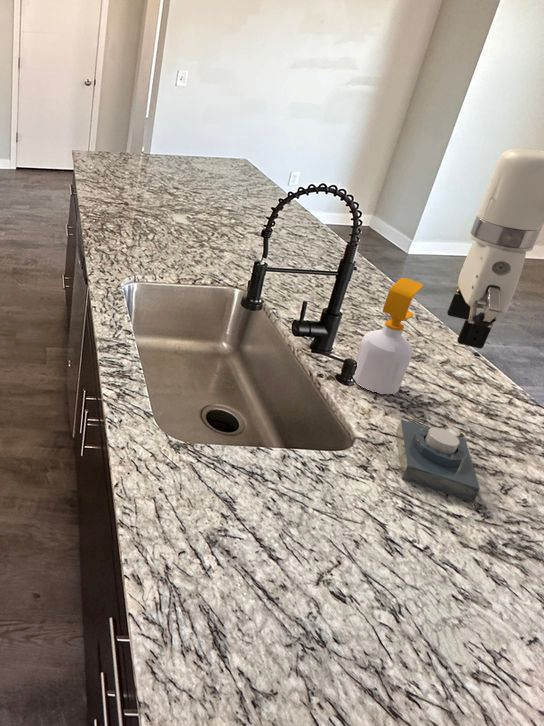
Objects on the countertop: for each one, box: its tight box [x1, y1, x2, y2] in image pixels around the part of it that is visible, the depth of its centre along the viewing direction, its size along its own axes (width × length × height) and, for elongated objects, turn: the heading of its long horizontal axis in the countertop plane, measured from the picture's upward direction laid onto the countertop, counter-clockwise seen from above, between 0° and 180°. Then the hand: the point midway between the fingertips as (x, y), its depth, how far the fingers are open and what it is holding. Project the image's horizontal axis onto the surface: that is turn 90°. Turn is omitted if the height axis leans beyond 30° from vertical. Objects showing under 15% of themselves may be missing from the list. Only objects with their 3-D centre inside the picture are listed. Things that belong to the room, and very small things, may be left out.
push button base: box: [395, 418, 481, 504], centre depth 94 cm, size 10×13×5 cm
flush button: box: [425, 427, 460, 454], centre depth 93 cm, size 4×4×2 cm
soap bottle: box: [354, 277, 424, 395], centre depth 111 cm, size 9×9×25 cm
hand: (463, 330), depth 87 cm, fingers open, 9 cm apart
